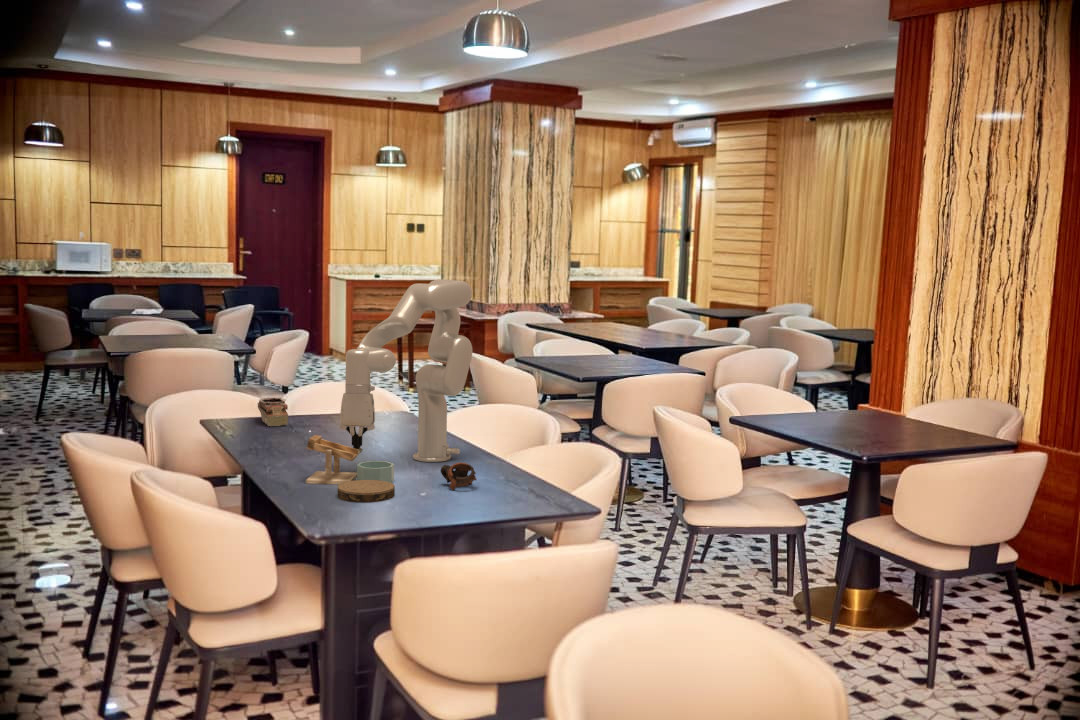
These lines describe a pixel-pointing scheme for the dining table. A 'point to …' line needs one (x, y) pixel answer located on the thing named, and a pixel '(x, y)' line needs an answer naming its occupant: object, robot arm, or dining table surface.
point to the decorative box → (273, 411)
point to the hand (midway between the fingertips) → (356, 448)
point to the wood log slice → (366, 491)
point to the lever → (333, 448)
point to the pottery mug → (458, 474)
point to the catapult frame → (330, 476)
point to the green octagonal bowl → (376, 471)
